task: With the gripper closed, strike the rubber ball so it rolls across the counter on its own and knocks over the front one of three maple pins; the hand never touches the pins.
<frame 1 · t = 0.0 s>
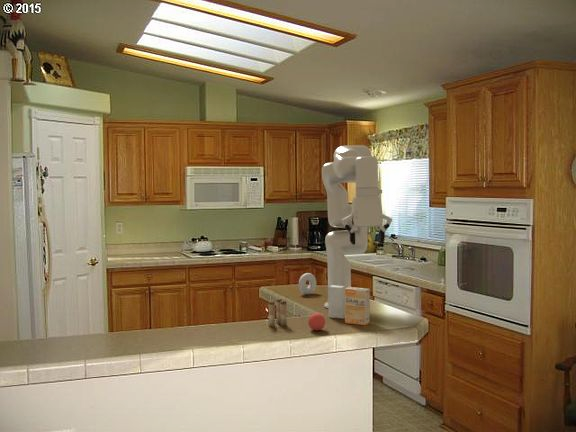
hand: (367, 243, 202), 31 cm above the countertop, tool pointing down, fingers open, 9 cm apart
pin 1: (271, 325, 218), on the countertop
donut: (307, 294, 275), on the countertop
ball: (316, 321, 210), on the countertop
front pin: (283, 325, 218), on the countertop
skincare box: (337, 317, 230), on the countertop
supplement box: (357, 323, 220), on the countertop
pin 2: (279, 322, 222), on the countertop
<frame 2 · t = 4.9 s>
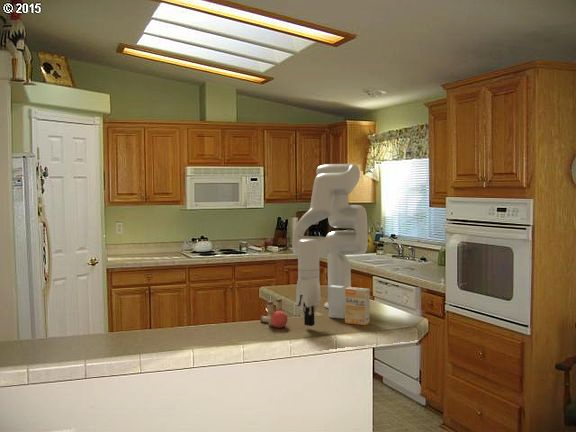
hand: (309, 325, 212), 2 cm above the countertop, tool pointing down, fingers closed
ball: (279, 319, 215), on the countertop
front pin: (280, 321, 219), point 1 cm above the countertop, tilted 90°
everything else where it was.
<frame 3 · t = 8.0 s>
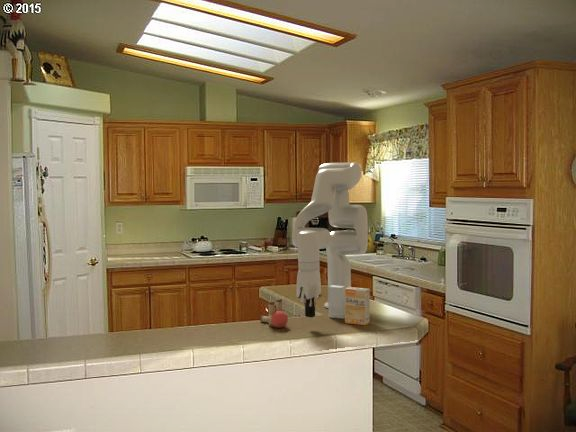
hand: (310, 316, 213), 4 cm above the countertop, tool pointing down, fingers closed
nothing on the countertop moved.
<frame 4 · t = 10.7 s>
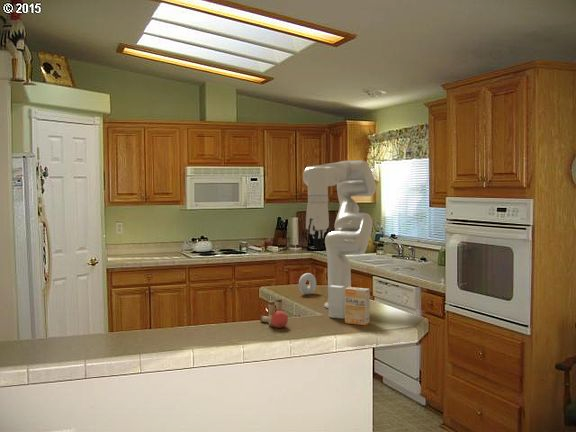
hand: (318, 248, 224), 27 cm above the countertop, tool pointing down, fingers closed
nothing on the countertop moved.
at the end: front pin tilted 90°; front pin never touched the robot; ball moved 14.0 cm from its start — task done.
